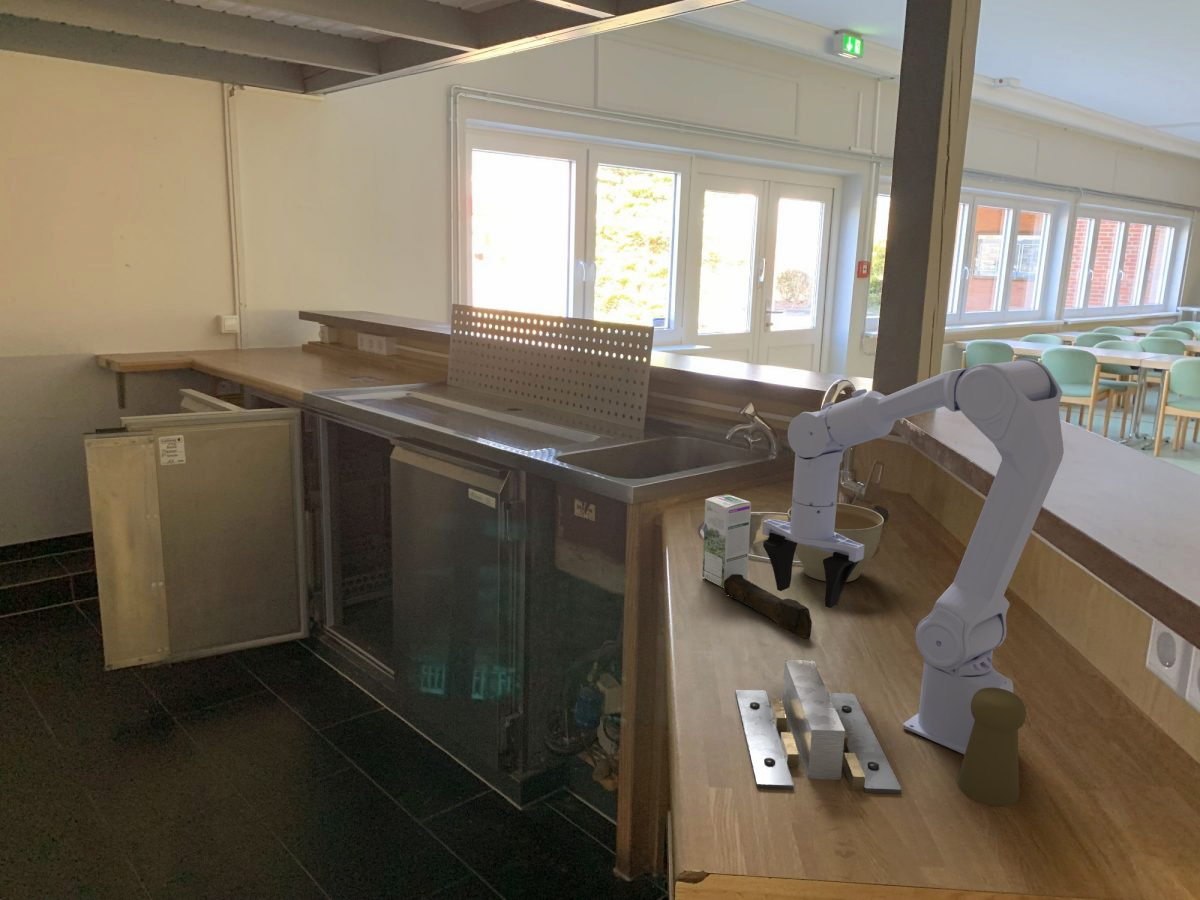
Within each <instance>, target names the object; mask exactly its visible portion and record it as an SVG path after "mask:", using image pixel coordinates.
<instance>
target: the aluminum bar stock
mask: <svg viewBox="0 0 1200 900" xmlns="http://www.w3.org/2000/svg"><path fill="white" fill-rule="evenodd" d="M826 689H827V686H825V683H824V681H823V679H822V676H821V674H820V672H819V670H818V667H817V665H816V663H815V661H814V660H807V659H806V660H804V659H803V660H800V659H799V660H798V659H797V660H796V659H784V672H783V684H782V699H781V701H782V704H783V708H784V711H785V714H786V717H787V722H788V724H789V727H790V730H791V732H792V735H793V738H794V741H795V744H796V747H797V750H798V753H799V758H800V759H801V762H802V765H803V768H804V771H805V775H806V777H807V779H809V780H814V779H815V780H817V779H818V780H838V781H839V780H841V779H842V769H843V768H842V767H843V755H844V750H843V748H844V737H845V730H844V727H843V725H842V723H841V721H840V718H839V716H838V714H837V712H836V710H835V707H834V705H833V703H832V701H831V698H830V696H829V694H828V693H829V692H827V691H828V690H826Z"/></svg>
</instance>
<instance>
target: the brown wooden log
mask: <svg viewBox="0 0 1200 900" xmlns="http://www.w3.org/2000/svg"><path fill="white" fill-rule="evenodd" d="M723 589H724V590H723V591H724V595H725V596H726V595H729V596H728V597H730V598H731V600H734V599H737V600H738V601H739V602H741V603H743V604H745V605H747V606H749V607H750V608H752V609H753V610H755V611H758V612H759V613H760V614H763V615H765V616H767V617H768V618H769V619H772V620H773V621H775V622H776V623H777V625H778V628H780V629H781V630H784V631H786V632H788V633H790V634H793V635H795V636H799V637H800V638H805V639H810V638H811V635H812V627H813V626H812V625H813V623H812V618H811V613H810V610H809V608H808V607H807V606H805V605H804V604H802V603H800V602H799V601H797V600H796V599H792V598H784V599H782V598H780V597H778V596H776V595H774V594H773V593H771V592H769V591H768V590H766V589H763V588H761V586H758V585H757V584H754V583H753V582H751V581H750V580H748V579H747V580H746V579H744V578H743V575H741V574H732V575H730V576H729V577H728V578H727V579H726V580H724V588H723Z"/></svg>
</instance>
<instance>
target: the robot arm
mask: <svg viewBox="0 0 1200 900" xmlns="http://www.w3.org/2000/svg"><path fill="white" fill-rule="evenodd" d="M1062 396H1063V390H1062V388H1061V387H1060V385H1059V384H1058V382H1057V380H1056V378H1055V377H1054V375H1053V374H1052V372H1051V371H1050V370H1049V368H1048V367H1047V366H1046V365H1045V364H1043V363H1041V362H1040V361H1038V360H1036V359H1033V358H1018V359H1017V358H1016V359H1015V360H1012V361H1005V362H997V363H990V362H989V363H978V364H975V365H972V366H971V367H965V368H958V369H953V370H949V371H945V372H942V373H940V374H937V375H935V376H932V377H930V378H927V379H925V380H922V381H919V382H917V383H915V384H912V385H910V386H907V387H905V388H903V389H900V390H898V391H895V392H894V393H891V394H888V395H884V394H883V393H881V392H879V391H876V390H868V391H867V389H866V388H862V389H858V390H855V391H852V392H851V397H850V398H847V399H845V400H843V401H840V402H838V403H835V402H833V401H830V402H826V403H823V405H822V409H821V410H817V411H812V412H811V411H803V412H801V413H799V414H798V415H796V416H794V418H792V419H791V421H790V423H789V425H788V428H787V440H788V444H789V446H790V448H791V450H792V451H793V452H794V453H795V454H794V457H795V458H794V469H793V470H794V471H793V483H792V484H793V485H792V498H791V499H792V500H791V508H792V510H791V522H789V521H784V520H780V519H775V518H769V519H766V520H763V521H762V529H761V530H762V533H761V534H762V535H763V536H767V539H765V540H764V541H763V542H762V544H763V545H762V547H763V548H764V550H765V552H766V555H767V557H768V559H769V560H770V561H769V562H770V564H771V567H772V570H773V574H774V578H775V579H774V580H775V585H776V589H777V591H779V592H782V591H785V590H788V589H790V586H791V582H792V574H793V573H792V572H793V562H794V558H795V557H794V556H795V555H796V553H795V550H796V546H797V543H800V544H803V545H806V546H810V547H813V548H816V549H820V550H823V551H826V552H830V553H833V556H830V557H828V558H825V559H823V565H824V569H825V578H826V581H825V590H824V591H825V592H824V607H825V608H828V609H832V608H834V607H835V606H838V604H839V601H840V598H841V595H842V592H843V589H844V587H845V585H846V583H847V582H846V581H847V579H848V577H849V576H850V574H851V572H852V571H853V569H854V568H855V566H856V565H857V564H858V562H859V560H861V559H863V557H864V546H865V545H863V544H860V543H857V542H855V541H852V540H850V539H848V538H846V537H844V536H842V535H840V534H838V533H835V532H834V528H835V516H836V504H837V503H838V490H839V479H840V468H841V467H840V465H841V463H843V456H844V452H845V451H846V450H847V449H848V448H851V447H854V446H856V445H857V446H858V445H861V444H863V443H866V442H869V441H872V440H875V439H879V438H881V437H885V436H887V435H889V434H890V433H891V431H892V430H893V428H894V425H895V422H897V421H900V420H903V419H907V418H911V417H912V416H917V415H920V414H923V413H927V412H930V411H933V410H936V409H940V408H943V407H945V408H946V409H948V410H949V411H950V412H953V413H954V412H961V413H962V414H963V415H964V417H966V419H968V421H970V423H971V424H973V426H975V427H976V429H978V430H979V431H980V432H981V433H982V434H983V435H984V436H985V437H986V438H987V439H988V440H989V441H990V442H991V443H992V444H993V445H994V447H995V448H996V450H997V453H998V454H999V455H1000V457H1001V462H1000V463H999V466H998V469H997V471H996V474H995V476H994V479H993V482H992V484H991V485H990V486H991V487H990V489H989V492H988V495H987V497H986V499H985V502H984V504H983V507H982V509H981V511H980V514H979V517H978V520H977V522H976V525H975V527H974V529H973V532H972V535H971V536H970V539H969V542H968V545H967V547H966V549H965V552H964V555H963V558H962V560H961V563H960V565H959V566H958V570H957V572H956V574H955V577H954V580H953V581H952V583H951V584H950V586H948V588H947V589H946V590H945V591H944V592H943V593H942V594H941V595H940V597H938V599H937V600H936V601H935V603H934V606H933V608H932V609H931V612H930V613H929V614H928V615H927V616H925V617H924V618H922V619H921V620H920V621H919V623H918V624H917V626H916V627H915V628H916V629H915V635H914V636H915V637H914V638H915V643H916V646H917V649H918V651H919V653H920V655H921V656H922V658H923V670H922V679H921V689H920V697H919V706H918V713H916V714H915V715H913V716H912V717H910V718H909V719H907V720H906V721H905V722H903V724H902V727H903V728H904V729H905V730H907V731H909V732H912V733H915V734H917V735H919V736H921V737H924V738H926V739H928V740H930V741H932V742H935V743H936V744H939V745H942V746H943V747H946V748H948V749H950V750H953V751H954V752H955V751H956V752H958V753H960V754H962V755H963V756H965V752H966V749H967V745H968V742H969V738H970V735H971V731H972V728H973V725H974V721H975V719H974V717H973V715H972V713H971V701H972V698H973V696H974V694H975V693H976V692H977V691H979V690H980V689H983V688H990V687H994V688H1001V689H1005V690H1007V691H1010V692H1012V693H1014V683H1013V681H1012V679H1011V678H1009V677H1007V676H1006V675H1003V674H1001V673H1000V672H999V671H997V670H996V669H995V668H994V667H993V655H994V649H997V648H999V647H1000V646H1001V645H1002V644H1003V642H1004V641H1005V639H1006V636H1007V631H1008V630H1007V619H1006V618H1007V612H1008V610H1009V608H1010V602H1009V601H1008V599H1007V598H1006V597H1005V593H1006V590H1007V588H1008V586H1009V584H1010V581H1011V579H1012V577H1013V575H1014V572H1015V570H1016V568H1017V565H1018V564H1019V560H1020V558H1021V556H1022V553H1023V552H1024V549H1025V547H1026V545H1027V542H1028V540H1029V537H1030V535H1031V533H1032V531H1033V528H1034V526H1035V523H1036V522H1037V518H1039V517H1038V516H1039V515H1040V512H1041V509H1042V508H1043V504H1044V502H1045V500H1046V498H1047V495H1048V494H1049V491H1050V488H1051V486H1052V484H1053V482H1054V479H1055V476H1056V475H1057V471H1058V470H1059V468H1060V465H1061V463H1062V462H1063V457H1064V456H1063V455H1064V454H1065V453H1064V452H1065V451H1064V444H1063V443H1064V442H1063V433H1062V424H1061V423H1062V422H1061V416H1060V407H1059V405H1060V403H1061V399H1062Z"/></svg>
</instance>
